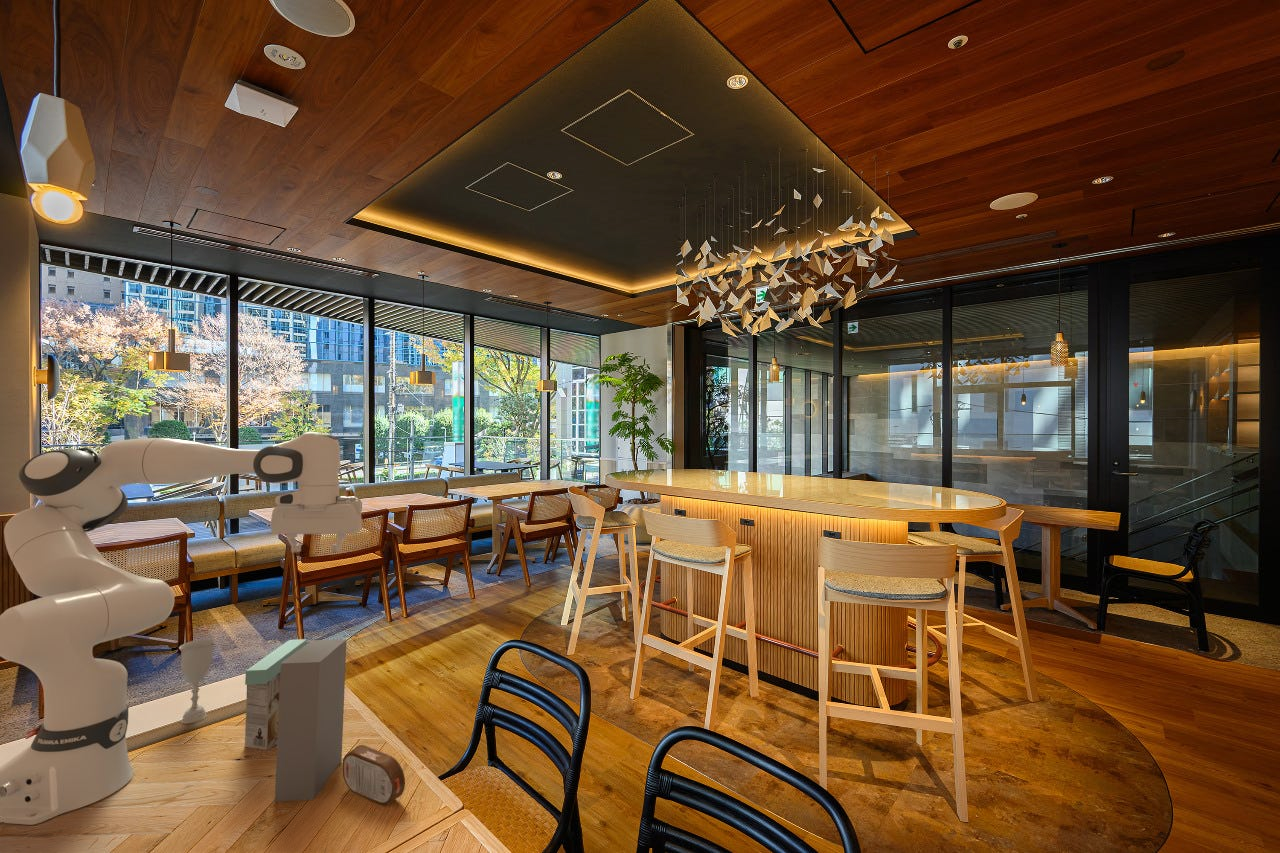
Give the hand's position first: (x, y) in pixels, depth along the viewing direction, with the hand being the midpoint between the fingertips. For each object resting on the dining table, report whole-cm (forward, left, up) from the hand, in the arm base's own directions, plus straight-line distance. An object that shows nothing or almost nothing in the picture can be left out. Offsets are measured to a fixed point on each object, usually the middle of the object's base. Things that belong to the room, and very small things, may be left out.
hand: (316, 551), depth 130 cm
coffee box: (-4, -8, -41) cm, 42 cm away
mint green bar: (-4, -7, -25) cm, 26 cm away
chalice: (-28, +3, -41) cm, 50 cm away
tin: (+26, -31, -41) cm, 58 cm away
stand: (+12, -25, -41) cm, 50 cm away
